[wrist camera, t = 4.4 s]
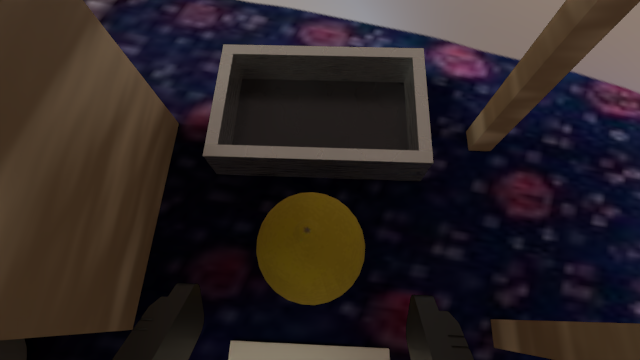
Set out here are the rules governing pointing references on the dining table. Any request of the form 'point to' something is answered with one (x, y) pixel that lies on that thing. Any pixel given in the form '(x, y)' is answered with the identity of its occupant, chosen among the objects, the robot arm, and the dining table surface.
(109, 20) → the dining table surface
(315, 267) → the lemon
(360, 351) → the pad
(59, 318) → the small wooden table
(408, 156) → the open rectangular box
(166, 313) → the robot arm
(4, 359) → the bottle
